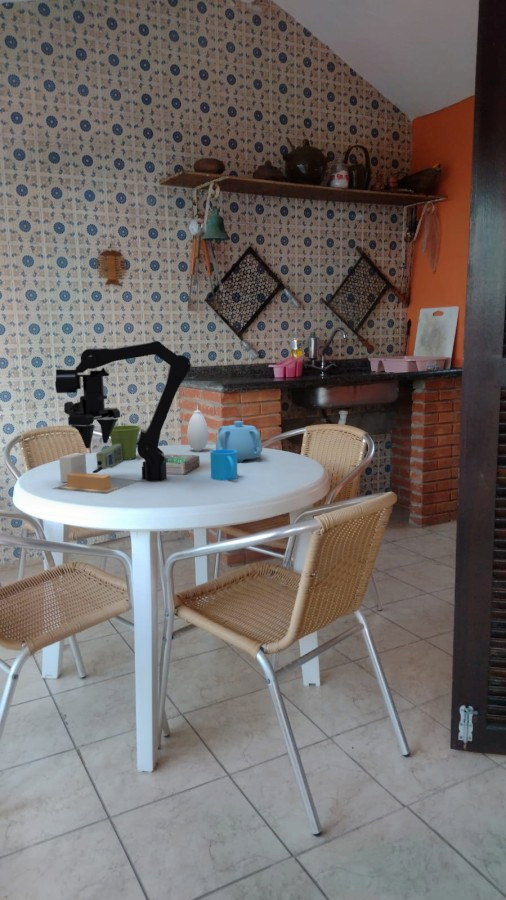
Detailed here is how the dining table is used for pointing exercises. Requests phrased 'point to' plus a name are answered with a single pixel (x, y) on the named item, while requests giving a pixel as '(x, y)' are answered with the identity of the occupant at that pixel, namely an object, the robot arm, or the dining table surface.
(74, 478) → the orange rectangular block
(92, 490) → the pad
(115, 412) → the robot arm
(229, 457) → the mug
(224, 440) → the decorative pot
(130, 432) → the plant pot
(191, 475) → the dining table surface
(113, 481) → the board
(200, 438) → the white air blower
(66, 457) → the block
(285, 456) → the dining table surface
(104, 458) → the handheld radio
